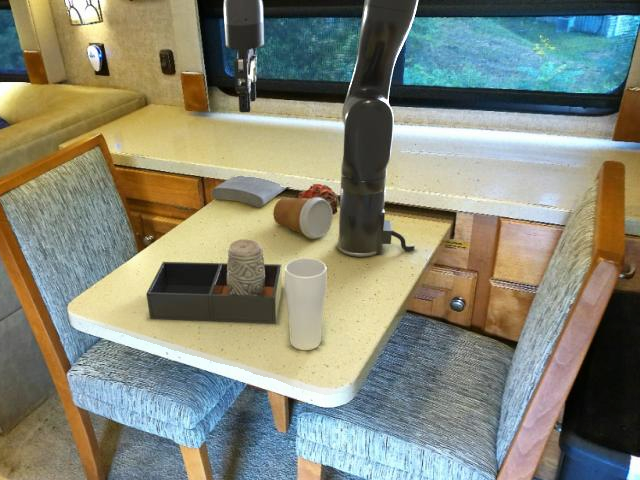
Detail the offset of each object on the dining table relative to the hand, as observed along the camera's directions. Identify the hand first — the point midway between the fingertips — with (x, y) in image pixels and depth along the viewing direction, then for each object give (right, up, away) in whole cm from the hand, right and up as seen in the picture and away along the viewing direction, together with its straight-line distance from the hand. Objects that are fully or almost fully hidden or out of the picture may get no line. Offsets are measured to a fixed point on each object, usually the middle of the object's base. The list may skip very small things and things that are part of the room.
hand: (248, 106), depth 123 cm
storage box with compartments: (-6, -41, -7) cm, 42 cm away
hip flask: (-3, -13, +32) cm, 35 cm away
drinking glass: (+10, -47, -19) cm, 52 cm away
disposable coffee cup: (+8, -19, +20) cm, 29 cm away
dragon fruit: (+17, -19, +25) cm, 36 cm away
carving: (0, -40, -8) cm, 41 cm away
